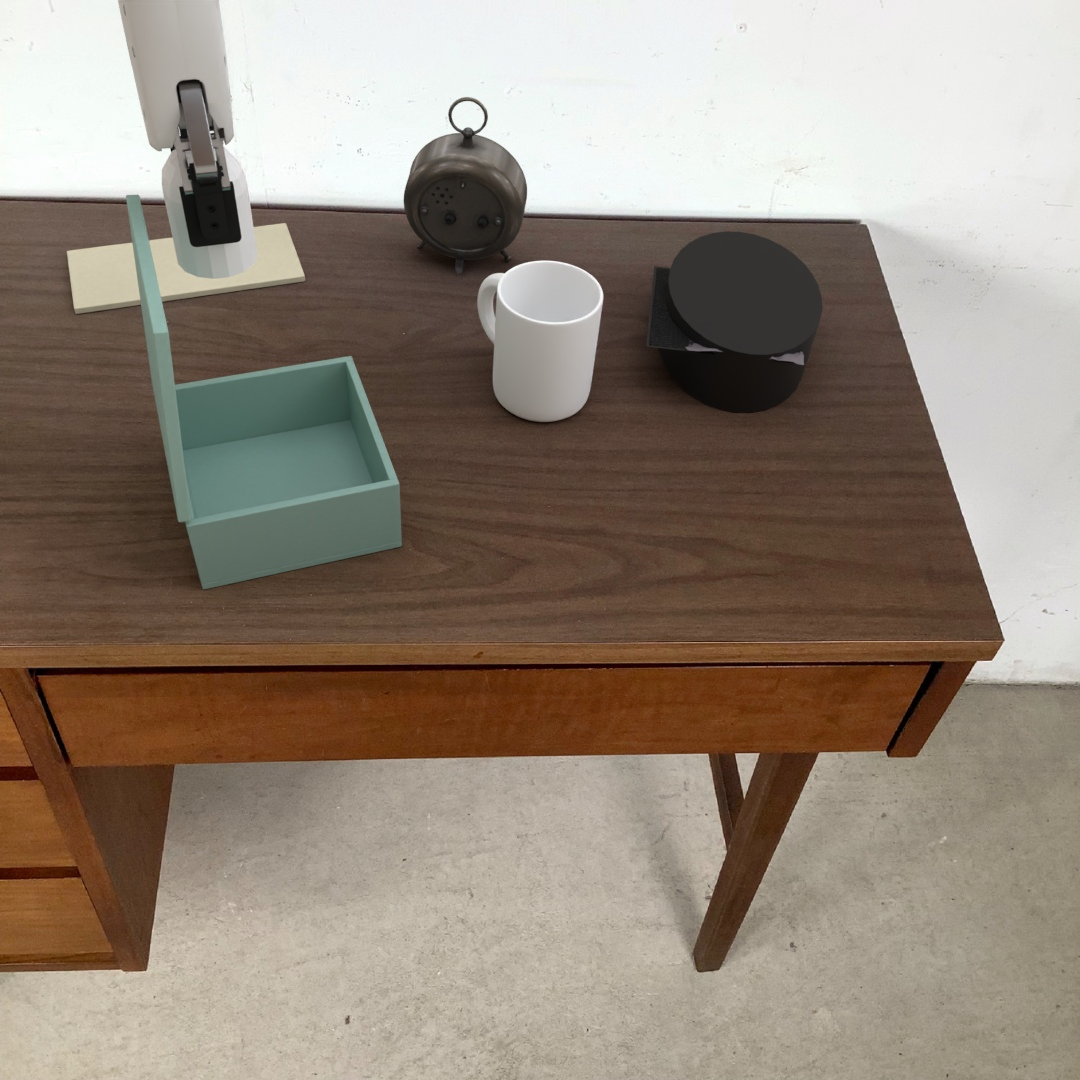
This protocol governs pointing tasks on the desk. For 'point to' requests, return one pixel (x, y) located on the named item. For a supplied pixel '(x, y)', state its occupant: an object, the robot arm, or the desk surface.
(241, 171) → the capsule
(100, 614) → the desk surface
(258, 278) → the mat
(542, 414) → the mug
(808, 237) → the desk surface
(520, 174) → the alarm clock
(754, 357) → the black round box
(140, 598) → the desk surface
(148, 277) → the lid
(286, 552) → the mint green open box
